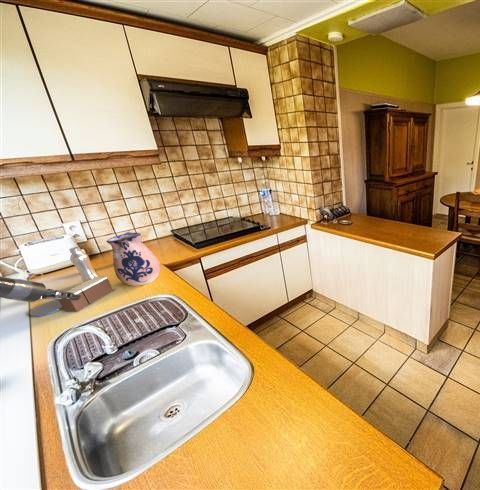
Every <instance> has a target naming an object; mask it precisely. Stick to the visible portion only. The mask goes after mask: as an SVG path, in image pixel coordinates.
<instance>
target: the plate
mask: <svg viewBox="0 0 480 490" xmlns="http://www.w3.org/2000/svg"><path fill="white" fill-rule="evenodd" d="M62 310H64V309H63V307H62V305H61V304H60V302H59V301H58V300H57V299H52V300H50V301H47V302H45V303H42V304H40V305H38V306H36V307H34V308H33V309H31V310H30V312H29V316H30V317H32V318H38V317H39V318H40V317H44V316H47V315H51V314H54V313H57V312H59V311H62Z"/></svg>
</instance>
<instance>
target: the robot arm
mask: <svg viewBox="0 0 480 490" xmlns="http://www.w3.org/2000/svg"><path fill="white" fill-rule="evenodd" d="M66 294H67V296H66ZM57 297H58V298H57ZM80 297H81V295H77V294H74V293H73V292H66V291H65V290H59V289H54V288H47V287H46V285H45V283H42V282H38V281H32V280H27V279H22V278H21V279H20V278H12V277H7V276H6V277H5V276H0V299H1V298H2V299H5V300H11V301H20V302H29V303H34V302H37V301H39V300H56V299H57V300H58V299H62V298H63V299H73V300H79V299H80Z"/></svg>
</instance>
